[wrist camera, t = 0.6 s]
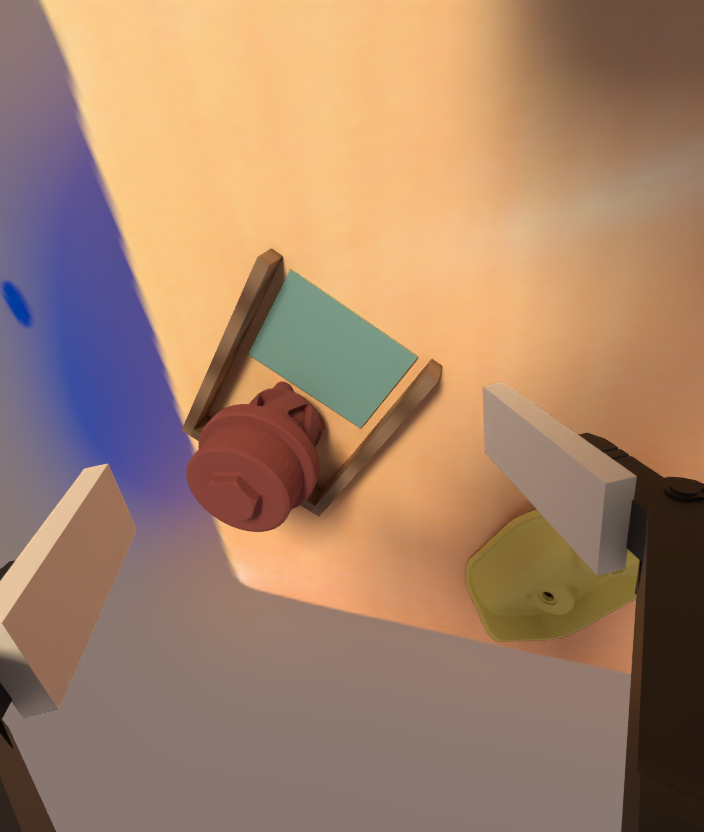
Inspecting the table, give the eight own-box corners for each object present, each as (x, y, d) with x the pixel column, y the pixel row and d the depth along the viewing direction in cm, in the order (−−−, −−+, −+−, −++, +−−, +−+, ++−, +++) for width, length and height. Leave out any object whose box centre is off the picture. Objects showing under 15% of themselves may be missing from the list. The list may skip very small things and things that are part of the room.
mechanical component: (261, 454, 47) (228, 368, 42) (353, 454, 44) (329, 360, 39) (198, 546, 37) (145, 447, 32) (310, 554, 34) (270, 446, 29)
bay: (271, 248, 35) (257, 257, 33) (442, 365, 36) (438, 381, 34) (195, 416, 47) (181, 430, 45) (326, 499, 48) (319, 516, 46)
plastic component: (562, 639, 47) (481, 642, 44) (533, 571, 52) (458, 569, 49) (731, 545, 34) (634, 539, 31) (671, 466, 39) (581, 453, 36)
